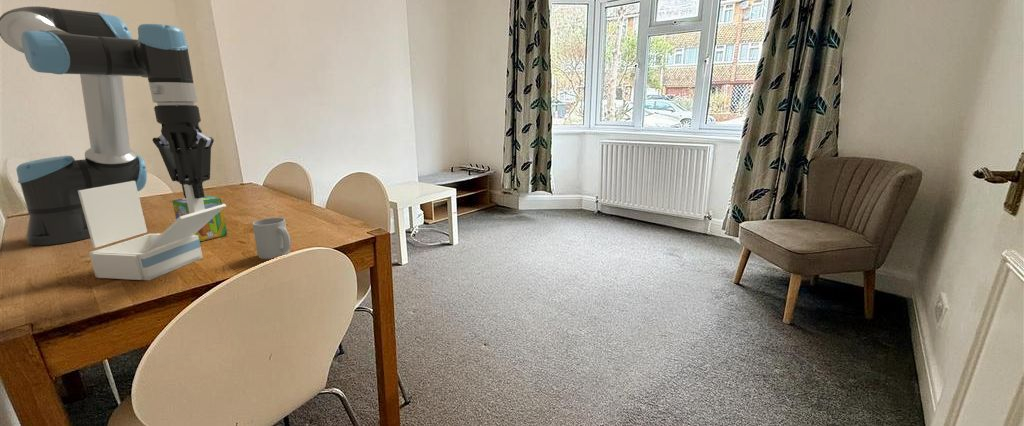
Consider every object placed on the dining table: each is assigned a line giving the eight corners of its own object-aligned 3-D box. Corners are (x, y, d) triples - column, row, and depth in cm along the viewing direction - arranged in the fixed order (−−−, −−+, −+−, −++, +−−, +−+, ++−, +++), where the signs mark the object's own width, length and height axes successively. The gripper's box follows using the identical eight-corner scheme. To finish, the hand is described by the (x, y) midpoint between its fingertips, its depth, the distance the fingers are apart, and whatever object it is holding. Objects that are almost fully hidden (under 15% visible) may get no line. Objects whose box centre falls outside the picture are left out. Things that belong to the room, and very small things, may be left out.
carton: (92, 278, 95) (85, 253, 94) (157, 254, 110) (152, 232, 109) (146, 281, 93) (140, 255, 92) (205, 257, 108) (200, 234, 107)
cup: (277, 248, 114) (272, 216, 112) (303, 253, 110) (299, 220, 108) (251, 257, 108) (245, 223, 105) (278, 262, 103) (273, 227, 101)
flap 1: (93, 247, 95) (77, 190, 92) (145, 232, 107) (133, 180, 103) (95, 247, 95) (80, 190, 92) (147, 232, 107) (135, 180, 103)
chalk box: (193, 244, 118) (182, 192, 115) (178, 239, 123) (167, 188, 120) (229, 235, 126) (220, 186, 122) (214, 231, 131) (204, 183, 127)
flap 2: (144, 249, 93) (179, 216, 90) (192, 233, 105) (224, 203, 101) (146, 251, 93) (181, 218, 90) (193, 234, 105) (226, 205, 101)
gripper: (131, 104, 87) (156, 215, 93) (187, 104, 85) (209, 217, 91) (165, 104, 95) (186, 207, 100) (217, 104, 93) (236, 209, 99)
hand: (197, 212), depth 96 cm, fingers closed
